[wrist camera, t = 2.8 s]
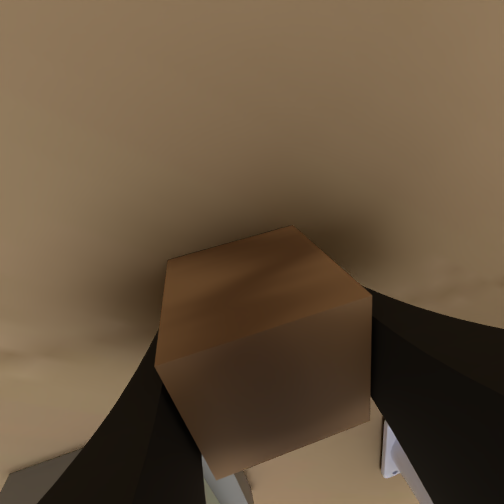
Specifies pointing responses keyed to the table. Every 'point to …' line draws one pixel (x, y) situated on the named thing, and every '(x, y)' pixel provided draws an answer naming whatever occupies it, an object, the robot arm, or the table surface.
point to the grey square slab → (47, 473)
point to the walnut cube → (264, 348)
